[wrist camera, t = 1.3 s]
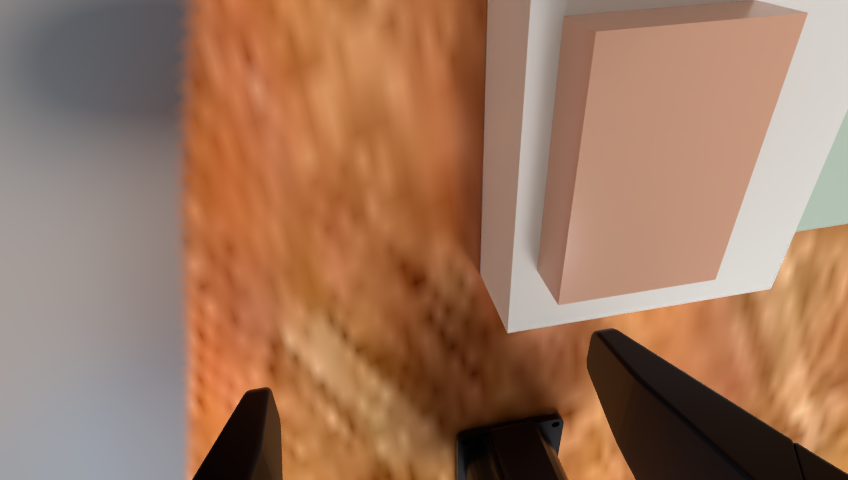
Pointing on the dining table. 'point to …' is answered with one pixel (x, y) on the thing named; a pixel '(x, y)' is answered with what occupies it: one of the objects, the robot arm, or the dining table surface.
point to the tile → (657, 142)
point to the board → (530, 144)
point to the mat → (830, 187)
